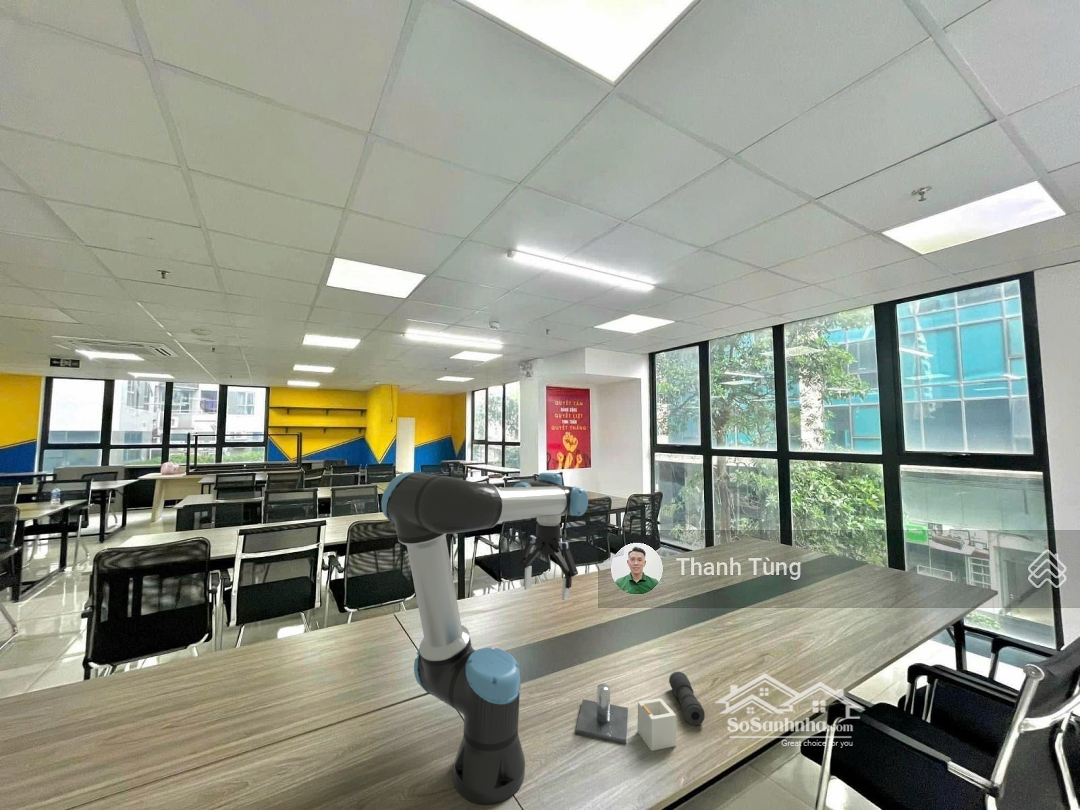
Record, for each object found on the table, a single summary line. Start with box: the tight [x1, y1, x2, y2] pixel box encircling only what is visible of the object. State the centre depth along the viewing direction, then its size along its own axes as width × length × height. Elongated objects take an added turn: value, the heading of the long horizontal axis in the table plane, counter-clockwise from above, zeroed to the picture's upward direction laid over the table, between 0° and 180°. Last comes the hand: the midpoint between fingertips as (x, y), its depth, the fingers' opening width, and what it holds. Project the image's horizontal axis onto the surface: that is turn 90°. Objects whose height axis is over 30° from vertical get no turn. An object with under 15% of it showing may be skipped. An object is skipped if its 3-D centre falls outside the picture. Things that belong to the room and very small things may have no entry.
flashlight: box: [668, 670, 706, 726], centre depth 113 cm, size 15×5×5 cm, turn 178°
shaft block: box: [575, 683, 629, 745], centre depth 106 cm, size 12×12×8 cm
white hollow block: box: [636, 697, 677, 752], centre depth 101 cm, size 6×6×7 cm
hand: (545, 593), depth 128 cm, fingers open, 13 cm apart
